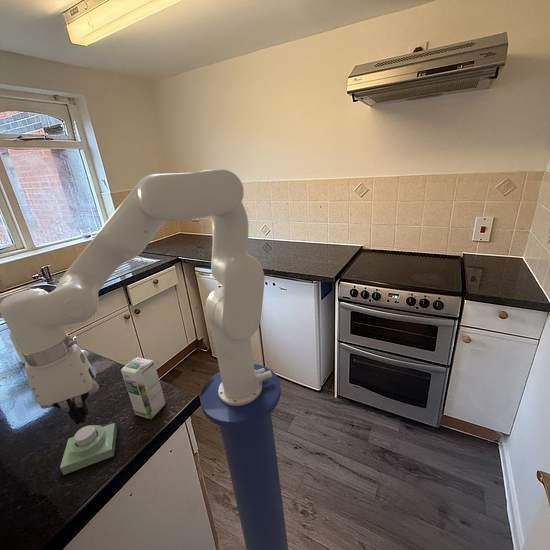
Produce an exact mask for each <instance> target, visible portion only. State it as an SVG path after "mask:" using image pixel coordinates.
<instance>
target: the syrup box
mask: <svg viewBox="0 0 550 550" xmlns="http://www.w3.org/2000/svg"><path fill="white" fill-rule="evenodd" d="M120 372H121V375H122V378H123V381H124V384H125V387H126V391H127V393H128V397H129V399H130V402H131V406H132V408H133V411H134V415H136V416H139V417H142V418H145V419H149V420H153V418H154V417H155V416H156V415H158V413H160V411H161V410H162V409H163V407H165V405H166V404H167V403H166V400H165V395H164V393H163V389H162V386H161V381H160V379H159V373H158V372H157V368H156V363H155V361H154V359H149V358H145V357H139V356H137V357H135V358H133V359H132V360H130V361H129V362H128V363H127V364H125V366H123V367H122V368H121V369H120Z"/></svg>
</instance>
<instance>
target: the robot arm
mask: <svg viewBox="0 0 550 550" xmlns="http://www.w3.org/2000/svg"><path fill="white" fill-rule="evenodd" d="M244 195H245V190H244V185H243V182H242V180H241V179H240V177H239V176H238V175H237V174H235V173H234V172H232V171H230V170H228V169H223V168H222V169H221V168H220V169H203V170H200V171H191V172H178V173H177V172H176V173H151V174H147V175H145V176H143V177H142V178H141V179H140V180H139V181H138V182H137V183H136V184H135V185H134V187H133V188H132V190H131V191H130V192H129V193H128V195H126V197H125V198H124V199H123V201H122V202H121V203H120V204H119V206H118V207H117V208H116V209H115V210H114V212H113V213H112V215H110V216H109V218H108V220H106V222H105V223H104V224H103V225H102V227H100V229H99V230H98V232H97V233H96V234H95V235H94V237H93V238H92V239H91V241H90V242H89V243H88V245H87V246H86V247H85V248H84V249H83V250H82V252H81V253H79V255H78V256H77V257H76V259H75V260H74V261H73V263H72V264H71V265H70V266H69V268H67V270H66V271H65V273H63V274H62V276H61V277H60V279H59V281H58V282H57V284H56V287H55V289H54V290H51V291H50V292H48V291H47V290H45V289H41V288H30V289H26V290H22V291H19V292H16V293H14V294H11V295H9V296H7V297H5V298H4V299H3V300H1V302H0V315H1V316H2V318H3V321H4V322H5V324H6V326H7V328H8V330H9V332H11V333H12V335H13V337H14V339H15V341H16V343H17V345H18V347H19V348H20V350H21V352H22V354H23V356H24V358H25V360H26V364H25V363H24V371H25V375H26V379H27V383H28V385H29V389H30V391H31V393H32V395H33V397H34V399H35V401H36V402H37V404H38V405H39V406H40V409H41V410H42V409H43V410H45V409H50V408H56V409H60V410H62V411H63V412H64V413H67V414H68V416H69V418H70V420H71V421H74V423H75V425H76V426H77V425H80V424H83V423H85V422H86V419H87V416H88V415H89V413H90V412H89V408H88V406H87V404H86V401H87V400H88V397H89V396H92V395H93V394H95V393H97V392H99V389H100V384H99V383H98V382H97V381H96V380H95V379H97V378H96V377H97V376H96V372H95V370H94V368H93V366H92V364H91V362H90V361H89V359H88V358H87V357H86V356H85V354H84V353H83V352H82V350H83V349H82V348H80V346H79V345H78V344H79V341H80V340H79V338H78V337H77V336H74V337H71V336H70V335H69V333H67V331H66V329H65V326H66V325H67V326H68V325H74V324H79V323H83V322H86V321H87V320H89V319H91V318H93V317H94V316H95V314H96V313H97V312H98V309H99V303H100V300H99V291H101V290H102V288H103V286H104V285H105V284H106V282H107V281H108V280H109V279H110V278H111V276H112V275H113V274H114V273H115V272H116V270H117V269H118V268H120V266H122V265H123V264H125V263H126V262H128V261H130V260H133V259H135V258H137V257H138V256H140V255H141V254H142V253H143V252H144V251H145V249H146V247H147V246H148V245H149V244H150V242H151V241H152V240H153V238H154V237H155V236H156V234H158V232H159V231H160V229H161V228H162V227H163V226H164V225H165V223H167V222H176V221H186V220H193V219H199V218H200V219H201V218H206V217H210V220H211V225H212V245H211V259H210V261H211V262H210V271H211V275H212V276H213V278H214V279H215V281H216V282H218V283H219V284H220V287H217V288H215V289H213V290H212V291H211V292H210V293H209V295H208V296H207V298H206V302H205V313H206V317H207V320H208V324H209V327H210V330H211V334H212V339H213V344H214V348H215V353H216V358H217V364H218V369H219V372H220V374H221V379H222V383H221V384H220V386H219V389H218V394H219V397H220V399H221V400H222V401H223V402H224V403H226V404H228V405H232V406H240V405H245V404H248V403H250V402H252V401H253V400H255V399H256V398H257V397H258V396H259V395H260V393H261V391H262V380H264V379H268V378H271V377H272V373H271V371H267V372H265V370H264V368H262V369H259V370H255V369H254V364H255V362H254V357H253V356H254V355H253V349H252V342H251V341H252V340H251V338H252V337H253V336H254V335H255V334H256V332H258V331H257V330H258V329H259V327H260V324H261V319H262V311H263V302H264V291H265V273H264V269H263V266H262V264H261V263H260V261H259V260H258V259H257V258H256V257H254V256H252V255H251V254H249V217H248V213H247V211H246V208H245V206H244V204H243V199H244ZM262 373H263V374H262ZM73 399H74V400H73Z"/></svg>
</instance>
